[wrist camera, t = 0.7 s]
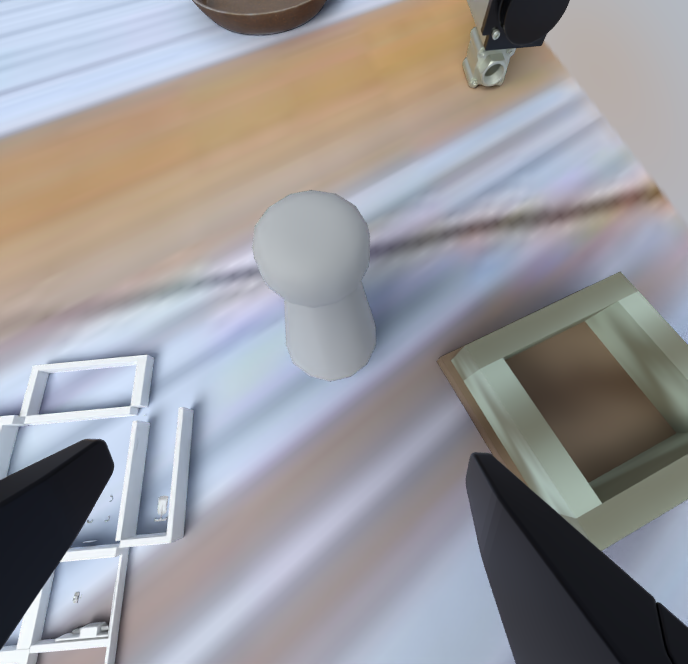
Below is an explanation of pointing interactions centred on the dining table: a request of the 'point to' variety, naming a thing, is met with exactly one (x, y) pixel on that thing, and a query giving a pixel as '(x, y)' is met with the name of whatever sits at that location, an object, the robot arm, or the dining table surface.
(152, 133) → the dining table surface
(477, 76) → the pneumatic valve
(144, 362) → the floor plan model
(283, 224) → the grey round-headed cylinder
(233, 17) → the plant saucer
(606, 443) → the holder
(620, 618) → the robot arm
